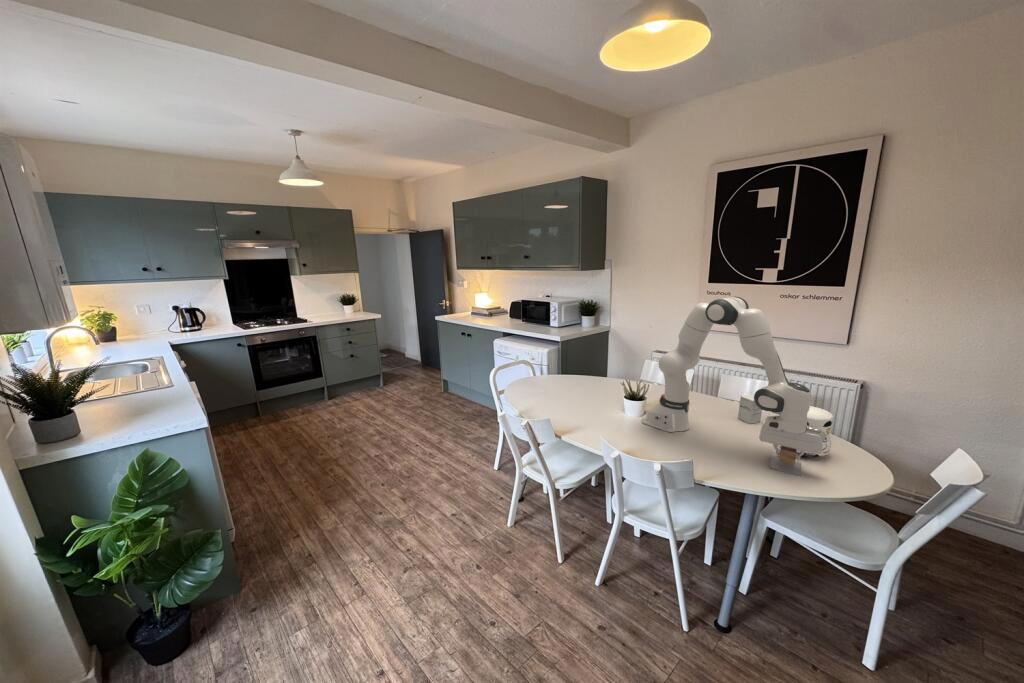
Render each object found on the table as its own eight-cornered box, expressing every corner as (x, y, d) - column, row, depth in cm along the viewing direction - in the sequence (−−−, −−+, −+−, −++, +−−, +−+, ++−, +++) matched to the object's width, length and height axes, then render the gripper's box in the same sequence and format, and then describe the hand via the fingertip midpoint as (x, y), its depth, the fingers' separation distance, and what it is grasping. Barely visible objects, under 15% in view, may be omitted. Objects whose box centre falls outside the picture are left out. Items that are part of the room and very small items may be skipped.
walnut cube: (779, 455, 156) (781, 444, 155) (794, 459, 153) (796, 447, 152) (779, 461, 152) (780, 449, 151) (794, 464, 149) (796, 453, 148)
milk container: (808, 463, 155) (815, 422, 151) (769, 444, 171) (775, 406, 167) (839, 456, 160) (847, 416, 156) (798, 438, 176) (804, 401, 172)
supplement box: (737, 418, 198) (739, 395, 195) (748, 416, 200) (751, 393, 197) (749, 424, 191) (752, 400, 188) (761, 422, 193) (764, 398, 190)
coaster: (769, 468, 152) (770, 466, 152) (771, 457, 160) (771, 455, 160) (801, 476, 146) (801, 474, 146) (800, 464, 154) (801, 463, 154)
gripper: (826, 427, 146) (820, 460, 149) (762, 415, 157) (758, 446, 160) (827, 434, 141) (821, 468, 144) (761, 421, 152) (756, 452, 155)
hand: (787, 456), depth 152 cm, fingers closed on walnut cube, 5 cm apart
